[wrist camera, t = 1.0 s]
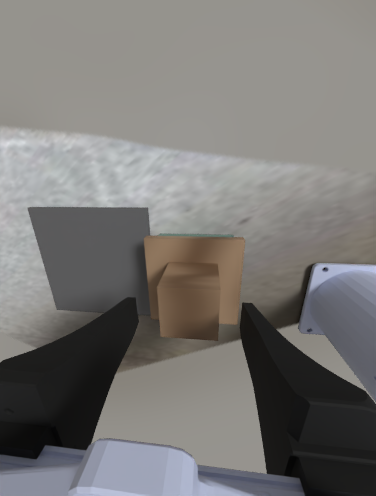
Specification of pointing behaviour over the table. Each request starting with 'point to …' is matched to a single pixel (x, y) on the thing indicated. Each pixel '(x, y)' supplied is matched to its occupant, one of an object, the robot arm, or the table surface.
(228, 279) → the lid
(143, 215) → the mat
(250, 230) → the table surface
